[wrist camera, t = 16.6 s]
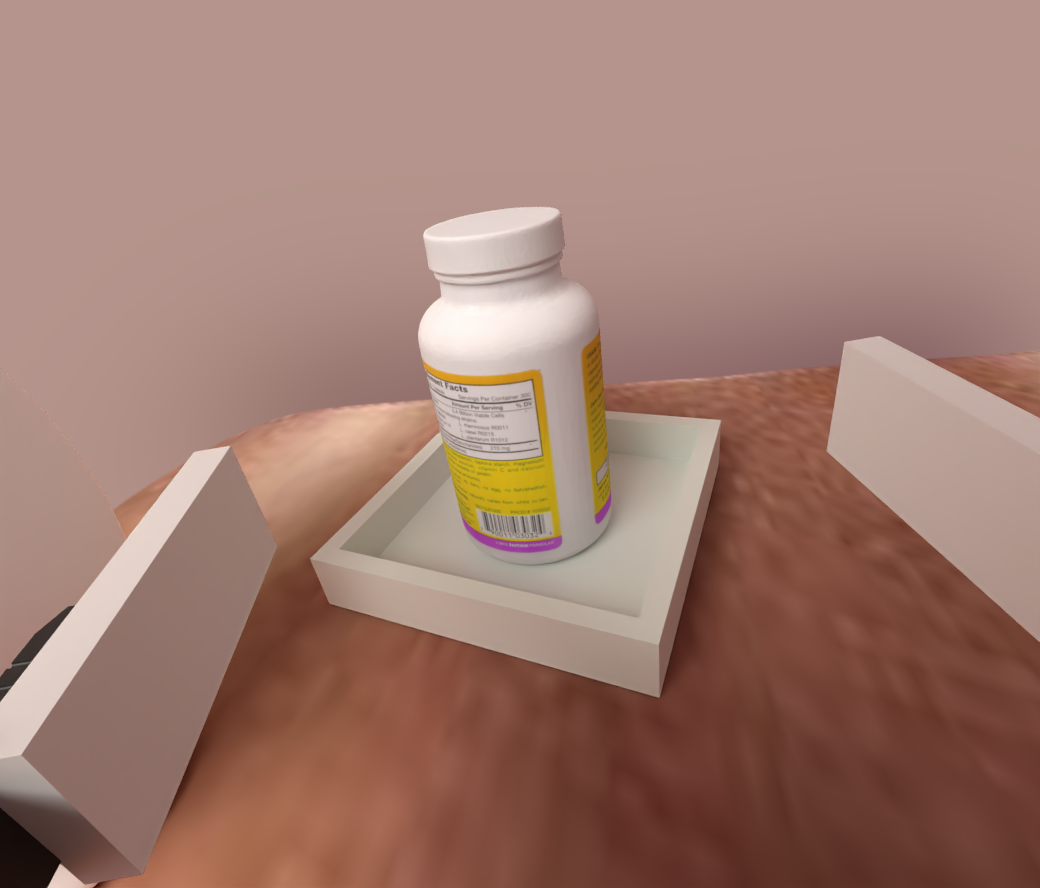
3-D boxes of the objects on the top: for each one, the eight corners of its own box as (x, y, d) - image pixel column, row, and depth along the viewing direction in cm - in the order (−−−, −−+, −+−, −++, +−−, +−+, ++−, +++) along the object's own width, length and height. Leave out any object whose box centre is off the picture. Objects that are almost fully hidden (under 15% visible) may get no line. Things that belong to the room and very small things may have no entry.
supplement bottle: (561, 462, 29) (531, 195, 23) (644, 528, 24) (636, 206, 17) (442, 512, 27) (370, 230, 20) (505, 598, 22) (435, 256, 15)
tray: (718, 463, 28) (721, 420, 27) (659, 698, 18) (658, 644, 17) (479, 437, 34) (471, 400, 32) (329, 603, 23) (309, 558, 22)
